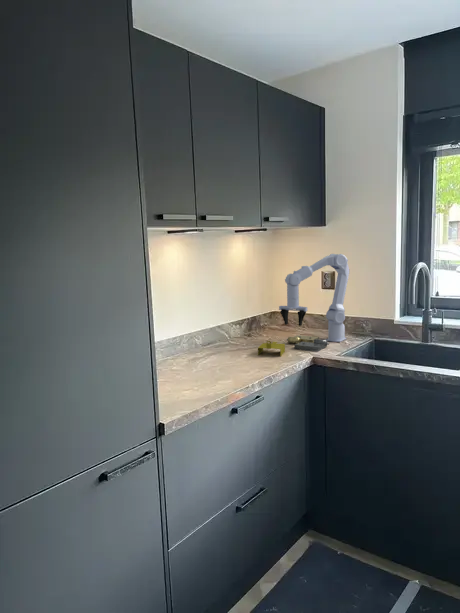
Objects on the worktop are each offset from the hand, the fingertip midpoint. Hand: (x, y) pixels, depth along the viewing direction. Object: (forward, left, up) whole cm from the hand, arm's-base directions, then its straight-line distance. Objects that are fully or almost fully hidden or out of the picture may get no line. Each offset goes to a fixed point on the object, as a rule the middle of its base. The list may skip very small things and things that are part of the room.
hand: (293, 324), depth 228 cm
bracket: (+21, 0, -10) cm, 23 cm away
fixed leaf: (+4, +12, -10) cm, 16 cm away
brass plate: (-4, +3, -10) cm, 11 cm away
